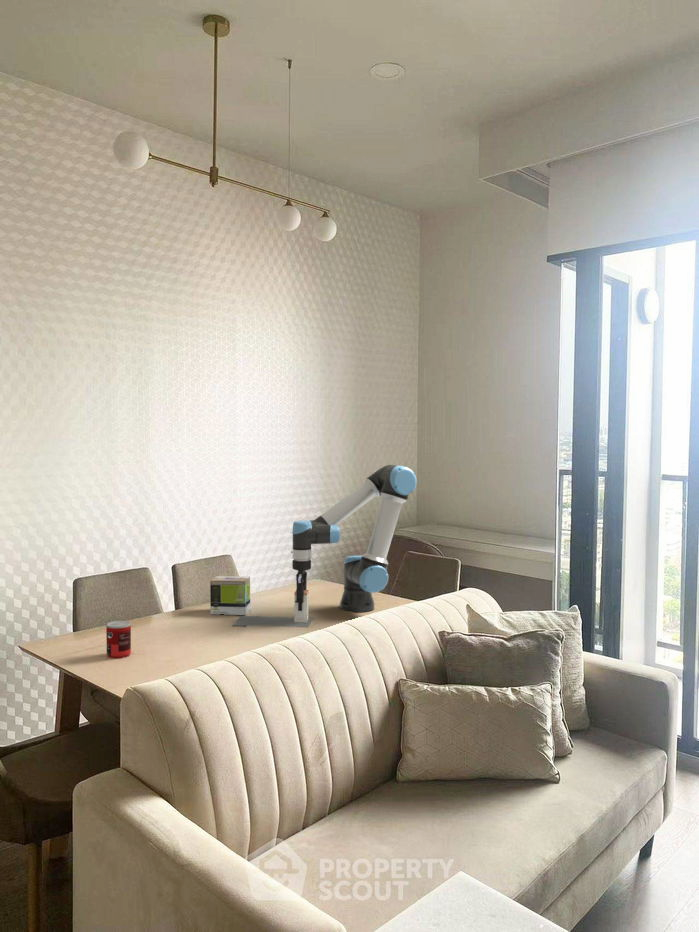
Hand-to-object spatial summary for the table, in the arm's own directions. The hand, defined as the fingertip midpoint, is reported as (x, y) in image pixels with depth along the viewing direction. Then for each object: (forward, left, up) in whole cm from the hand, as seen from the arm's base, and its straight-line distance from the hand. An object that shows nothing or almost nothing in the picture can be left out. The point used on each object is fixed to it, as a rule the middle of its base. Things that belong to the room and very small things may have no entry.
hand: (301, 616), depth 290 cm
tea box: (+32, -12, -3) cm, 34 cm away
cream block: (0, 0, -2) cm, 2 cm away
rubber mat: (+11, +2, -2) cm, 11 cm away
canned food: (+56, +49, -2) cm, 74 cm away
